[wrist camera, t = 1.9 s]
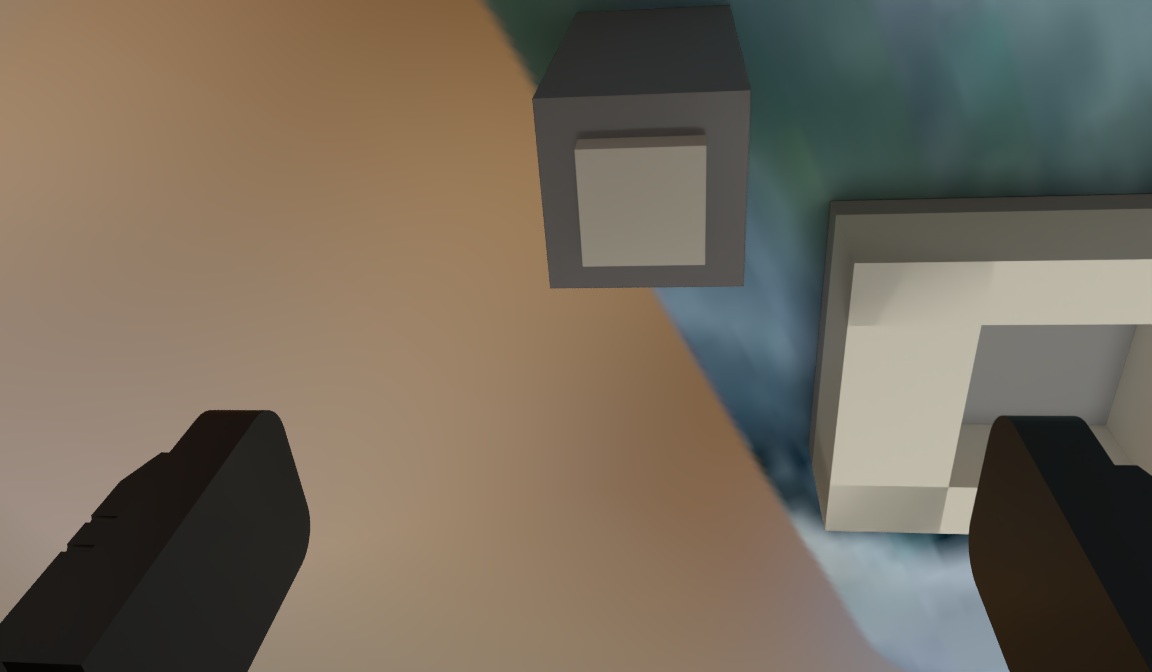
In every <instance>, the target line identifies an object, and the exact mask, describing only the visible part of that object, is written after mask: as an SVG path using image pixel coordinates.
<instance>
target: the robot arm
mask: <svg viewBox="0 0 1152 672" xmlns="http://www.w3.org/2000/svg"><path fill="white" fill-rule="evenodd" d="M91 516H92V520H91V522H90V523H85V524H84V525H83V526H82V527H81V528H80V530H79V531H78V532H77V533H76V534H75V536H74V537H73V538H72V539H71V540H70V541H69V543H68V544H67V546H68V548H67V551H66V552H60V553H59V554H58V556H57V557H56V558H55V559H54V560H53V562H52V563H51V564H50V565H49V566H48V567H47V569H46V570H45V571H44V572H43V573H42V575H41V576H40V577H39V578H38V579H37V581H36V582H35V583H34V584H33V585H32V586H31V588H30V589H29V590H28V591H27V592H26V594H25V595H24V596H23V597H22V598H21V599H20V601H19V602H18V603H17V604H16V605H15V607H14V608H13V609H12V610H11V611H10V612H9V614H8V615H7V616H6V617H5V618H4V620H3V621H2V622H1V623H0V672H248V670H249V668H250V666H251V664H252V662H253V660H254V658H255V656H256V654H257V652H258V650H259V648H260V646H261V644H262V642H263V640H264V638H265V636H266V634H267V632H268V630H269V628H270V626H271V624H272V622H273V620H274V618H275V616H276V614H277V612H278V610H279V608H280V606H281V604H282V602H283V600H284V599H285V597H286V595H287V593H288V590H289V589H290V587H291V585H292V583H293V581H294V579H295V577H296V575H297V573H298V571H299V569H300V567H301V565H302V563H303V560H304V558H305V555H306V552H307V548H308V543H309V536H310V516H309V510H308V506H307V502H306V499H305V495H304V492H303V489H302V486H301V482H300V479H299V476H298V472H297V469H296V466H295V462H294V459H293V456H292V452H291V449H290V446H289V443H288V439H287V436H286V432H285V429H284V426H283V424H282V421H281V420H280V418H279V416H278V415H277V414H276V413H275V412H273V411H270V410H209V411H205V412H204V413H202V414H201V415H200V416H199V417H198V418H197V419H196V420H195V421H194V423H193V424H192V425H191V426H190V428H189V429H188V430H187V432H186V433H185V434H184V435H183V436H182V438H181V439H180V440H179V441H178V443H177V444H176V445H175V446H174V448H173V449H172V450H171V451H170V452H169V453H163V452H161V453H160V454H159V455H157V456H156V457H154V458H153V459H151V460H150V461H148V462H147V463H146V464H144V465H143V466H142V467H140V468H139V469H137V470H136V471H134V472H133V473H131V474H130V475H129V476H127V477H126V478H124V479H123V480H121V481H120V482H119V483H118V485H117V486H116V487H115V488H114V489H113V490H112V492H111V493H110V494H109V495H108V496H107V498H106V499H105V500H104V501H103V503H102V504H101V505H100V506H99V507H98V508H97V509H96V511H95V512H94V513H93V514H92V515H91ZM969 557H970V564H971V569H972V573H973V577H974V581H975V583H976V586H977V589H978V591H979V594H980V597H981V599H982V602H983V604H984V607H985V609H986V612H987V615H988V617H989V620H990V622H991V625H992V627H993V630H994V633H995V635H996V638H997V640H998V643H999V645H1000V648H1001V651H1002V653H1003V656H1004V658H1005V661H1006V664H1007V666H1008V669H1009V671H1010V672H1152V475H1150V474H1149V473H1148V472H1146V471H1145V470H1143V469H1142V468H1141V467H1139V466H1138V465H1115V464H1114V463H1113V461H1112V460H1111V459H1110V457H1109V456H1108V454H1107V453H1106V451H1105V450H1104V448H1103V447H1102V445H1101V444H1100V442H1099V441H1098V439H1097V438H1096V436H1095V435H1094V433H1093V432H1092V430H1091V429H1090V427H1089V426H1088V425H1087V423H1086V422H1085V421H1084V420H1083V419H1082V418H1080V417H1078V416H1014V415H1001V416H999V417H998V418H996V419H995V421H994V423H993V425H992V427H991V430H990V434H989V438H988V443H987V447H986V452H985V456H984V461H983V465H982V470H981V474H980V479H979V483H978V488H977V493H976V497H975V502H974V506H973V511H972V515H971V520H970V525H969Z"/></svg>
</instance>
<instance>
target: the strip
mask: <svg viewBox="0 0 1152 672" xmlns="http://www.w3.org/2000/svg"><path fill="white" fill-rule="evenodd" d="M1001 415H1014V416H1078V417H1080V418H1082V419H1083V420H1084V421H1085V422H1086V423H1087V425H1088V426H1089V427H1090V429H1091V430H1092V432H1093V433H1094V435H1095V436H1096V438H1097V439H1098V441H1099V442H1100V444H1101V445H1102V447H1103V448H1104V450H1105V451H1106V453H1107V454H1108V456H1109V457H1110V459H1111V460H1112V461H1113V463H1114V464H1115V465H1138V466H1139V467H1141V468H1142V469H1143V470H1145V471H1146V472H1148V473H1149V474H1150V475H1152V194H1127V195H1082V196H1038V197H994V198H950V199H905V200H861V201H831V205H830V216H829V226H828V237H827V248H826V259H825V270H824V281H823V292H822V303H821V314H820V325H819V336H818V347H817V358H816V369H815V380H814V391H813V402H812V413H811V424H810V435H809V445H808V448H809V453H810V458H811V463H812V468H813V473H814V478H815V483H816V488H817V493H818V498H819V503H820V508H821V513H822V518H823V523H824V529H825V531H859V532H901V533H943V534H969V525H970V520H971V515H972V511H973V506H974V502H975V497H976V493H977V488H978V483H979V479H980V474H981V470H982V465H983V461H984V456H985V452H986V447H987V443H988V438H989V434H990V430H991V427H992V425H993V423H994V421H995V419H996V418H998V417H999V416H1001Z"/></svg>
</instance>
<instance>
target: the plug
mask: <svg viewBox="0 0 1152 672" xmlns="http://www.w3.org/2000/svg"><path fill="white" fill-rule="evenodd" d="M750 100H751V89H750V85H749V81H748V77H747V73H746V69H745V65H744V61H743V57H742V53H741V48H740V44H739V40H738V36H737V32H736V28H735V24H734V20H733V16H732V12H731V8H730V5H721V6H701V7H681V8H662V9H642V10H623V11H603V12H583V13H576V15H575V17H574V19H573V21H572V23H571V25H570V27H569V29H568V31H567V33H566V35H565V37H564V39H563V40H562V42H561V44H560V46H559V48H558V50H557V52H556V54H555V56H554V58H553V60H552V62H551V64H550V66H549V68H548V69H547V71H546V73H545V75H544V77H543V79H542V81H541V83H540V85H539V87H538V89H537V91H536V93H535V95H534V97H533V98H532V101H533V110H534V122H535V132H536V142H537V152H538V163H539V175H540V185H541V195H542V205H543V206H542V207H543V217H544V228H545V238H546V248H547V260H548V270H549V281H550V288H623V287H625V288H631V287H725V286H744V261H745V234H746V208H747V181H748V154H749V127H750Z"/></svg>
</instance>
